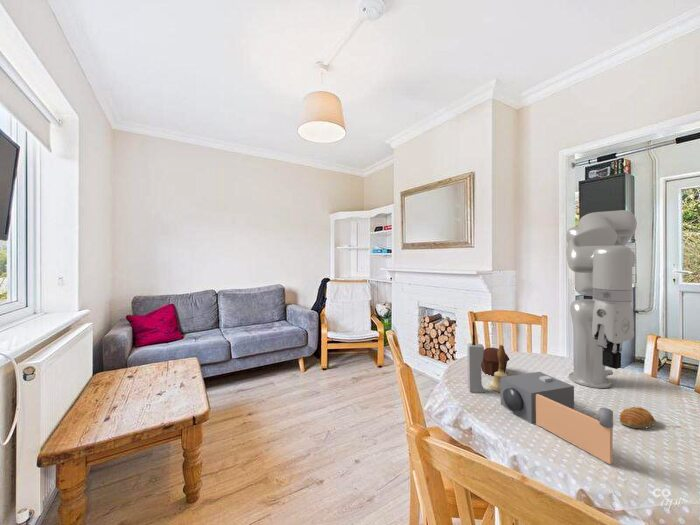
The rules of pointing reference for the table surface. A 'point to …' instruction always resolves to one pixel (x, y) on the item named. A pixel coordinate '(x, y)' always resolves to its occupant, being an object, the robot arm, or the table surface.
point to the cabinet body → (533, 393)
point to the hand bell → (499, 371)
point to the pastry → (637, 417)
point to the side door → (578, 427)
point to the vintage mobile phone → (475, 365)
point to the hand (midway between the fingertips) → (611, 366)
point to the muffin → (492, 361)
